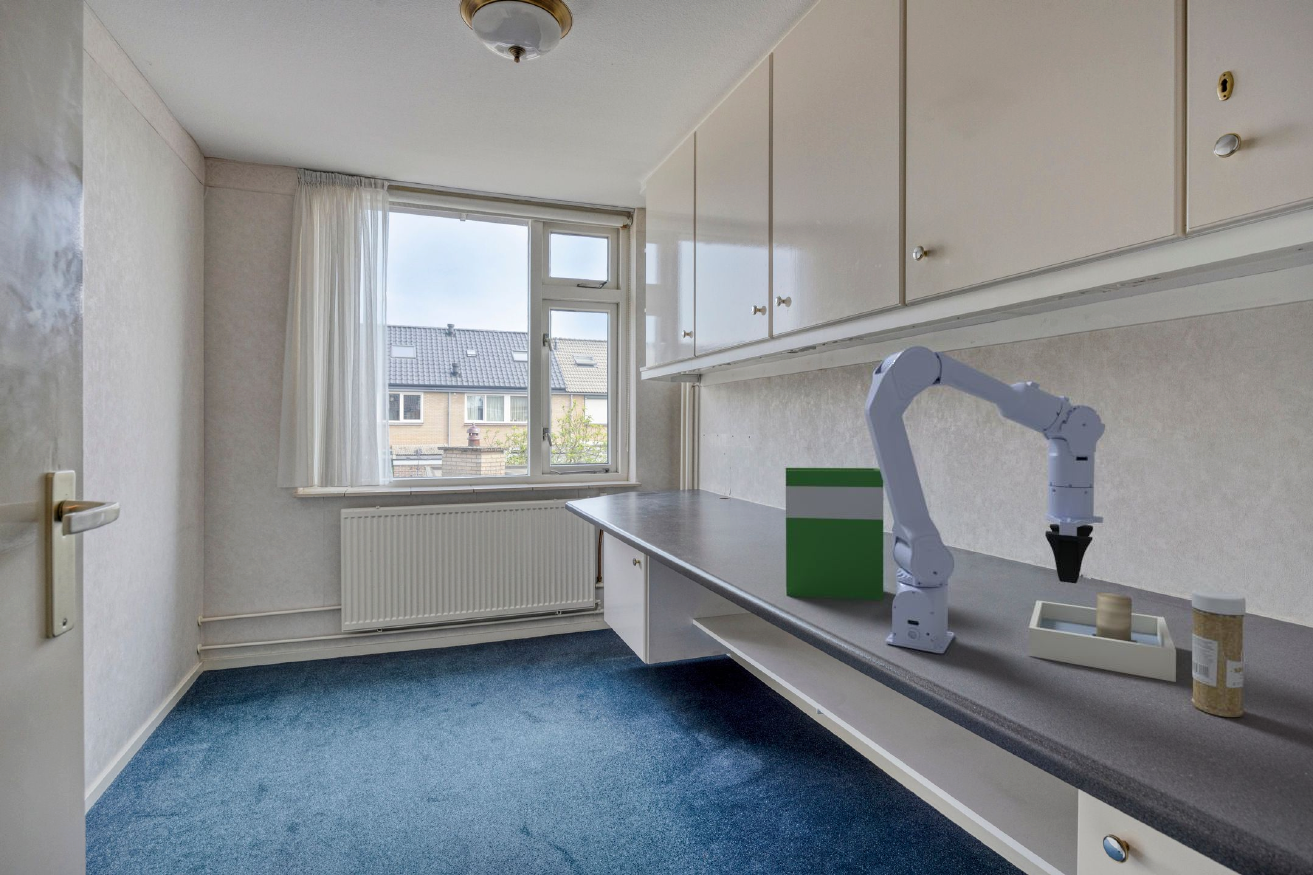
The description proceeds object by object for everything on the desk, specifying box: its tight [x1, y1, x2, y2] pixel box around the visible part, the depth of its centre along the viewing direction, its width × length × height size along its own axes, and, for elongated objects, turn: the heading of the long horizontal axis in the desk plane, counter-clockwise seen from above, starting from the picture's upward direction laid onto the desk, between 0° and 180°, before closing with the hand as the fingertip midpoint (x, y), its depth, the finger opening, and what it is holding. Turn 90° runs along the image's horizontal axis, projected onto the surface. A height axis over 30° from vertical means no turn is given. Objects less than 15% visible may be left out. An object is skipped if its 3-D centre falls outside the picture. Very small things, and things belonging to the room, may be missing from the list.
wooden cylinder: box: [1096, 592, 1133, 642], centre depth 89 cm, size 4×4×8 cm
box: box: [1028, 600, 1177, 683], centre depth 90 cm, size 16×16×4 cm
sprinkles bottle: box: [1191, 588, 1247, 718], centre depth 71 cm, size 5×5×14 cm
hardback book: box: [785, 467, 884, 601], centre depth 121 cm, size 18×7×24 cm, turn 79°
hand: (1069, 576), depth 93 cm, fingers open, 7 cm apart
